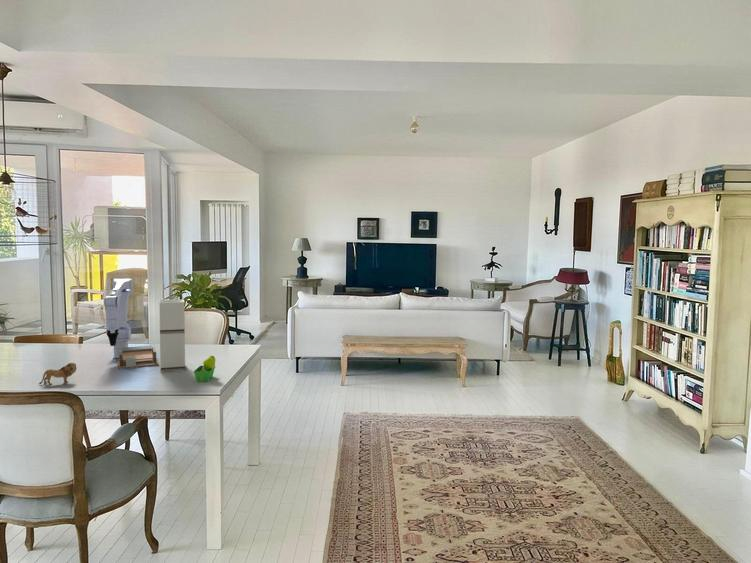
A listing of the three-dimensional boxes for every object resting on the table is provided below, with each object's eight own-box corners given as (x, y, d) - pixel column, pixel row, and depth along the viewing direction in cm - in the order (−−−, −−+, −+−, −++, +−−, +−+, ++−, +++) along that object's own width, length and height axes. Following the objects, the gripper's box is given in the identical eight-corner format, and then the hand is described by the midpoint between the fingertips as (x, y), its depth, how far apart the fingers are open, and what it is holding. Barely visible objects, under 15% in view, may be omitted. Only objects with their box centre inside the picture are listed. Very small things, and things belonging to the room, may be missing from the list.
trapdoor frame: (117, 361, 266) (116, 349, 266) (156, 358, 275) (156, 346, 275) (117, 369, 251) (117, 356, 250) (159, 365, 260) (158, 353, 259)
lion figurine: (77, 380, 231) (76, 361, 230) (76, 383, 227) (76, 363, 226) (39, 383, 224) (38, 364, 223) (37, 387, 219) (37, 367, 219)
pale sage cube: (125, 356, 256) (125, 358, 252) (135, 355, 258) (135, 357, 254) (125, 365, 256) (126, 367, 252) (135, 364, 258) (135, 366, 254)
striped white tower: (184, 365, 262) (184, 299, 259) (185, 370, 252) (184, 301, 249) (161, 366, 257) (160, 299, 254) (160, 372, 248) (159, 302, 245)
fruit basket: (200, 375, 243) (199, 353, 242) (218, 375, 243) (218, 353, 242) (193, 382, 231) (192, 358, 230) (212, 382, 232) (212, 358, 231)
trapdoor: (122, 352, 264) (122, 347, 263) (151, 350, 271) (151, 345, 270) (123, 363, 257) (123, 358, 255) (152, 360, 263) (152, 355, 262)
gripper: (103, 317, 264) (104, 342, 265) (103, 321, 251) (104, 347, 252) (118, 316, 267) (119, 341, 268) (119, 320, 254) (119, 346, 255)
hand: (112, 344), depth 260 cm, fingers open, 7 cm apart
